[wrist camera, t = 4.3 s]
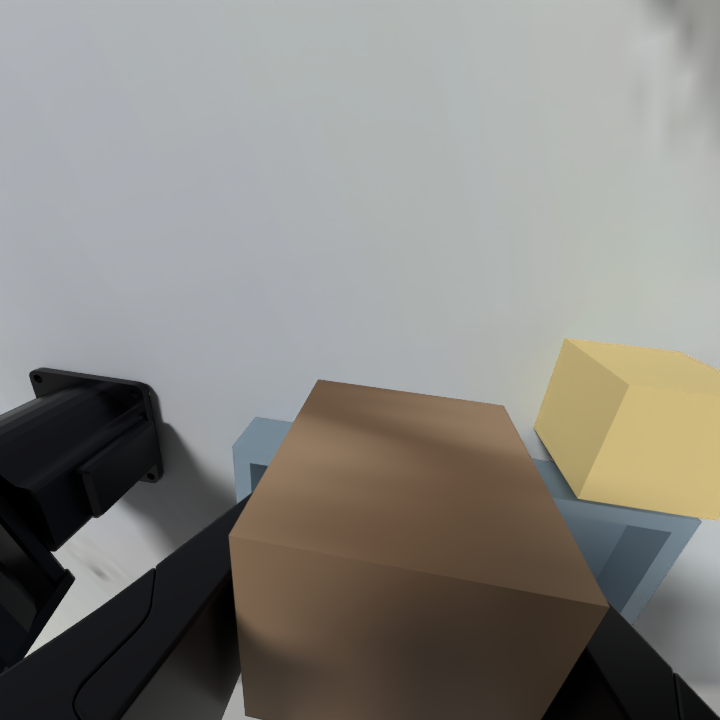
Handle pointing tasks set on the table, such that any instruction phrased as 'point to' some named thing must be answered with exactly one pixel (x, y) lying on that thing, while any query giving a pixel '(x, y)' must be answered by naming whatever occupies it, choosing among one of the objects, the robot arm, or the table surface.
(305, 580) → the walnut block
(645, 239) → the table surface
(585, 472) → the ochre block
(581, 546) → the slate tray
